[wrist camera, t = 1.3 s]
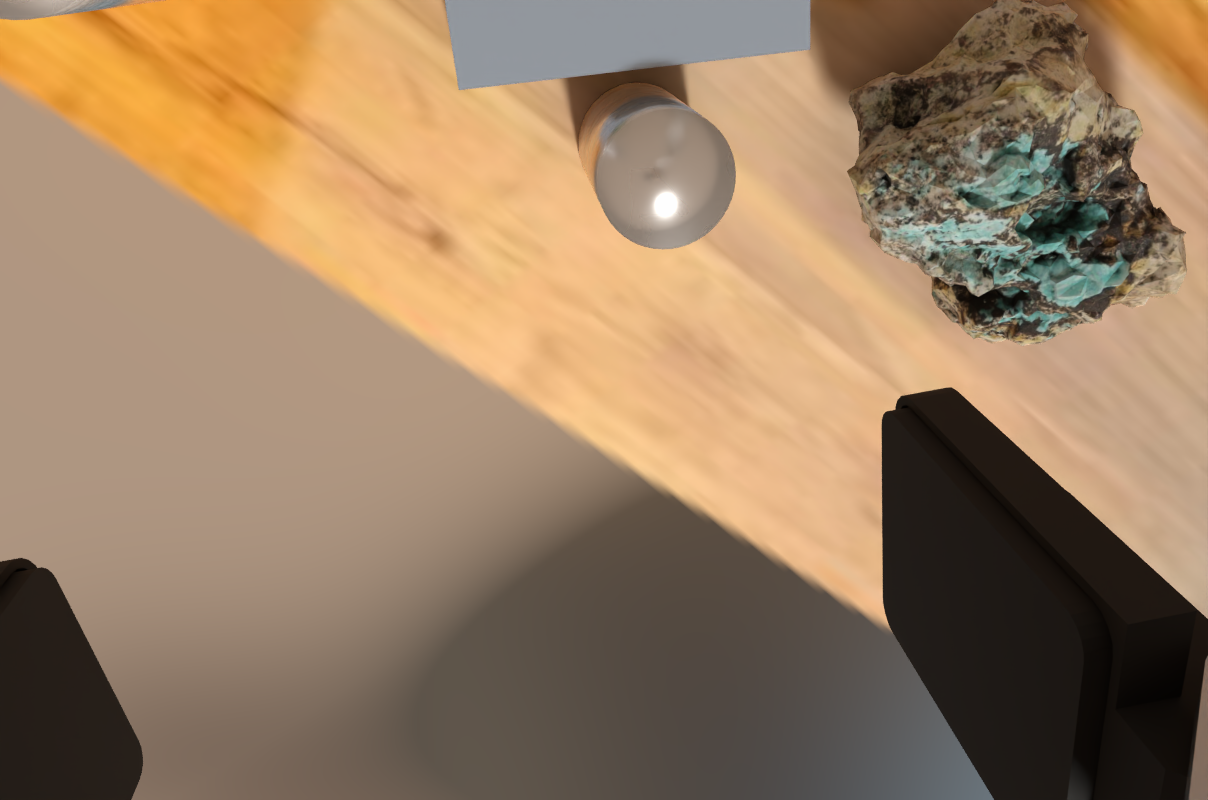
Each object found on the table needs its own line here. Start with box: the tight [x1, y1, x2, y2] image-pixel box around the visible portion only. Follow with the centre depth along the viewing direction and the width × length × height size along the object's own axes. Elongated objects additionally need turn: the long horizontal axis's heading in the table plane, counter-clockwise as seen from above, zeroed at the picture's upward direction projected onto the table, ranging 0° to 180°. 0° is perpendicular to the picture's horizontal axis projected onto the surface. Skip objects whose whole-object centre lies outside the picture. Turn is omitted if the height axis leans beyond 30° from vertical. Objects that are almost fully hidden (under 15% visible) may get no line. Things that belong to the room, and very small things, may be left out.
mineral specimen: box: [847, 0, 1187, 346], centre depth 31 cm, size 12×9×8 cm
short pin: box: [578, 82, 736, 249], centre depth 29 cm, size 4×4×6 cm
